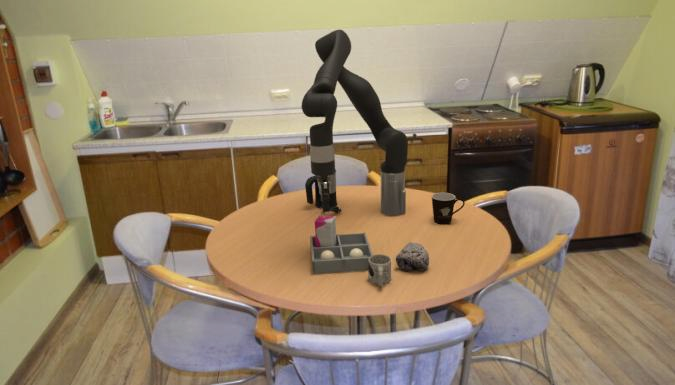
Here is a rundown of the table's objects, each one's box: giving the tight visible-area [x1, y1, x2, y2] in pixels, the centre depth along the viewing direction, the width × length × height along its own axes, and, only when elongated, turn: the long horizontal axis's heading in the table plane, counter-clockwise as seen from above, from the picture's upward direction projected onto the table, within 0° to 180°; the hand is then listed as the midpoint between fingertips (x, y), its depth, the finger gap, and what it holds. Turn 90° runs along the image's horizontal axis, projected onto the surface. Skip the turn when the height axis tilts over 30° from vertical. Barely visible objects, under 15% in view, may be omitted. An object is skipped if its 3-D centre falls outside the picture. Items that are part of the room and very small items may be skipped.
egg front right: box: [321, 250, 335, 260], centre depth 162 cm, size 4×4×4 cm
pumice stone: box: [395, 241, 430, 272], centre depth 159 cm, size 10×8×10 cm
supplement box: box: [314, 215, 337, 248], centre depth 169 cm, size 6×6×12 cm
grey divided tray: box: [309, 232, 374, 275], centre depth 167 cm, size 19×19×4 cm
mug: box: [367, 253, 392, 287], centre depth 151 cm, size 10×7×7 cm, turn 178°
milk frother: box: [304, 169, 342, 214], centre depth 208 cm, size 14×16×15 cm
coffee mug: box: [431, 192, 466, 226], centre depth 191 cm, size 12×9×10 cm
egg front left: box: [349, 248, 363, 258], centre depth 162 cm, size 4×4×4 cm
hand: (325, 206), depth 165 cm, fingers open, 8 cm apart
